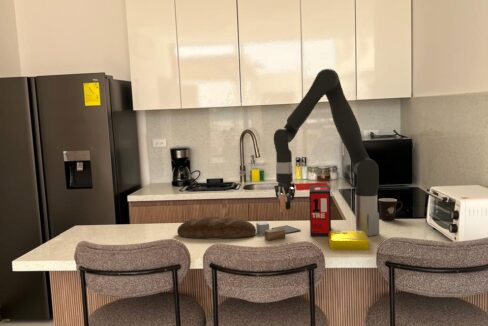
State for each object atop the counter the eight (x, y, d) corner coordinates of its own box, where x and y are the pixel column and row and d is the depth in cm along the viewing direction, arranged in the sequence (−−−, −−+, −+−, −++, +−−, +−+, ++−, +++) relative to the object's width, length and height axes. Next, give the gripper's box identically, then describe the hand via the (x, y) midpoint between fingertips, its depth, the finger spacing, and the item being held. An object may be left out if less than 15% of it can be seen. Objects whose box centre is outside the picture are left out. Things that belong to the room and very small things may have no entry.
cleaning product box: (311, 227, 197) (311, 185, 195) (330, 227, 195) (330, 185, 194) (310, 236, 181) (309, 191, 179) (331, 237, 179) (330, 191, 178)
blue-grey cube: (269, 233, 189) (269, 223, 189) (260, 234, 187) (259, 224, 187) (265, 231, 193) (265, 221, 193) (256, 232, 192) (256, 222, 191)
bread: (183, 231, 200) (182, 213, 199) (258, 231, 195) (257, 213, 194) (173, 240, 185) (172, 221, 184) (253, 240, 179) (253, 221, 178)
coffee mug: (378, 221, 204) (378, 201, 203) (378, 217, 212) (378, 198, 211) (404, 222, 200) (404, 201, 199) (402, 218, 209) (402, 198, 208)
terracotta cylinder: (283, 212, 189) (283, 195, 189) (278, 210, 193) (278, 193, 193) (291, 211, 192) (291, 194, 191) (286, 209, 195) (285, 192, 195)
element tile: (329, 251, 161) (329, 239, 161) (328, 240, 176) (328, 229, 176) (369, 251, 159) (369, 239, 158) (365, 240, 173) (365, 229, 173)
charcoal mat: (300, 231, 191) (300, 229, 191) (284, 234, 186) (284, 232, 186) (286, 226, 200) (286, 225, 200) (271, 229, 196) (271, 227, 196)
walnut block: (285, 238, 180) (285, 229, 179) (269, 241, 176) (268, 232, 176) (280, 236, 183) (280, 227, 183) (264, 239, 180) (264, 230, 180)
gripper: (268, 171, 195) (269, 207, 197) (286, 173, 183) (287, 212, 184) (282, 169, 199) (282, 205, 200) (300, 172, 186) (300, 210, 188)
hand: (285, 208), depth 192 cm, fingers closed on terracotta cylinder, 4 cm apart
